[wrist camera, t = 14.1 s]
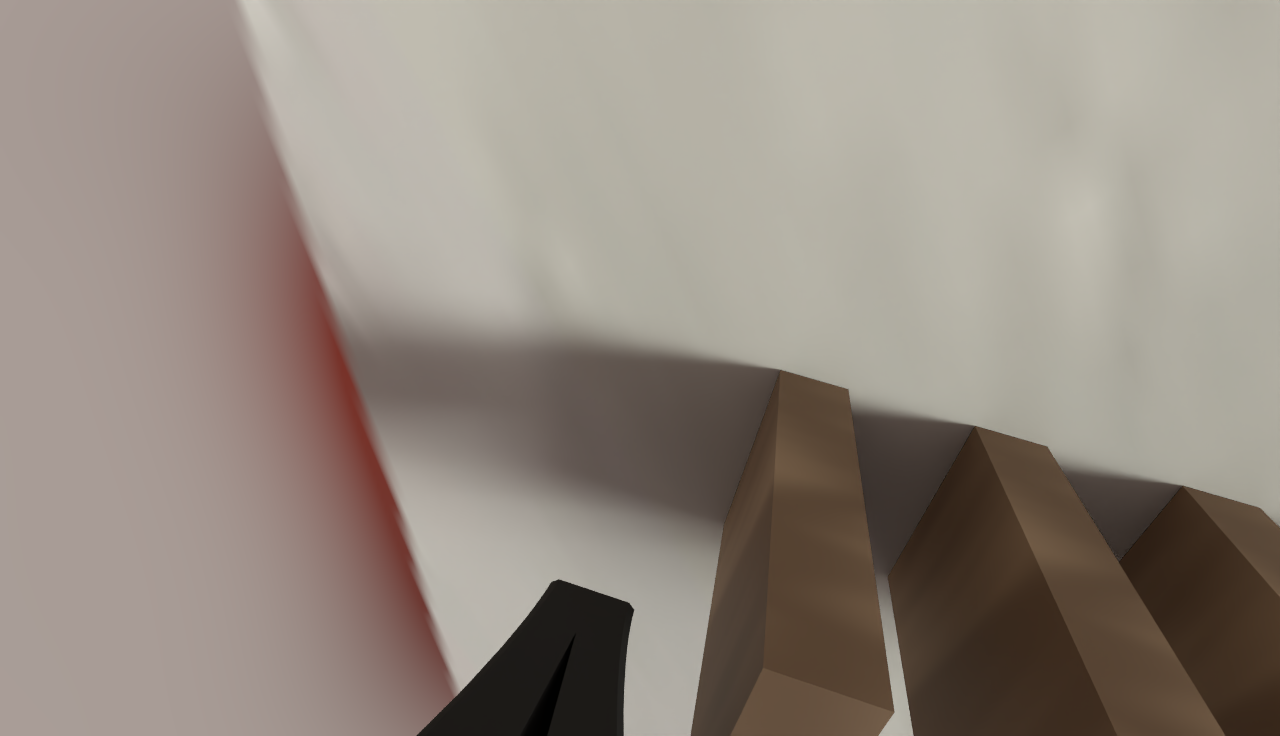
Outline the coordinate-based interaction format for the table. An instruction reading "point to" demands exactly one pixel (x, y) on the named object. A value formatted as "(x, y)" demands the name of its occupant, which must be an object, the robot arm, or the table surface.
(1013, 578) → the domino
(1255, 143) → the table surface
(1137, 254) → the table surface
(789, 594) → the domino
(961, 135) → the table surface
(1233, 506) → the domino
